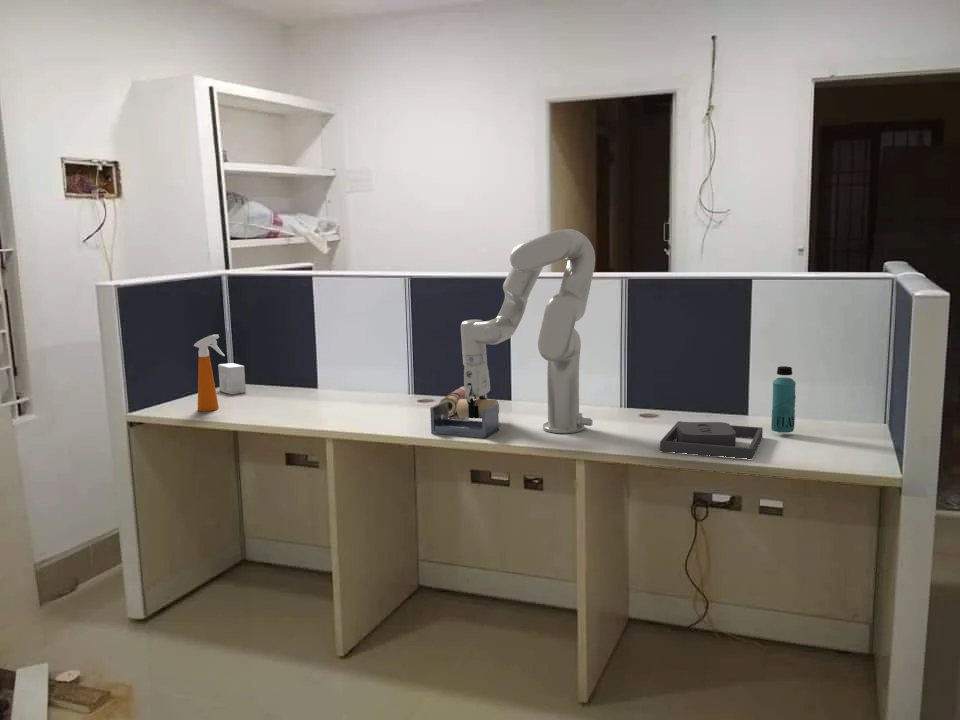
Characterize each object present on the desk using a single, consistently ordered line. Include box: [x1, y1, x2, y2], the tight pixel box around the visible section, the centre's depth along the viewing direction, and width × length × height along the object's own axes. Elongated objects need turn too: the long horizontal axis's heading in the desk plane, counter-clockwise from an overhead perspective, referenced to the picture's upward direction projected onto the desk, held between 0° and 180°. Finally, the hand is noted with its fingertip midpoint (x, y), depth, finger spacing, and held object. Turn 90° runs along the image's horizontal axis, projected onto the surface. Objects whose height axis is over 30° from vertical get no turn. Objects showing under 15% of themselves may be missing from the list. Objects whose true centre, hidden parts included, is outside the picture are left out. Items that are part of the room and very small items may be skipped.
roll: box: [456, 398, 500, 420], centre depth 273 cm, size 12×6×6 cm, turn 66°
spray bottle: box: [193, 334, 226, 412], centre depth 301 cm, size 7×11×26 cm, turn 90°
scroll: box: [439, 386, 475, 417], centre depth 290 cm, size 8×8×20 cm
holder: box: [429, 401, 500, 439], centre depth 261 cm, size 18×10×8 cm, turn 66°
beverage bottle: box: [770, 365, 797, 434], centre depth 248 cm, size 6×7×20 cm
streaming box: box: [676, 421, 737, 447], centre depth 240 cm, size 14×14×5 cm
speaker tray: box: [659, 421, 764, 460], centre depth 241 cm, size 24×24×3 cm
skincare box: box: [217, 362, 247, 395], centre depth 332 cm, size 10×6×10 cm, turn 40°
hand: (478, 415), depth 273 cm, fingers closed on roll, 6 cm apart
